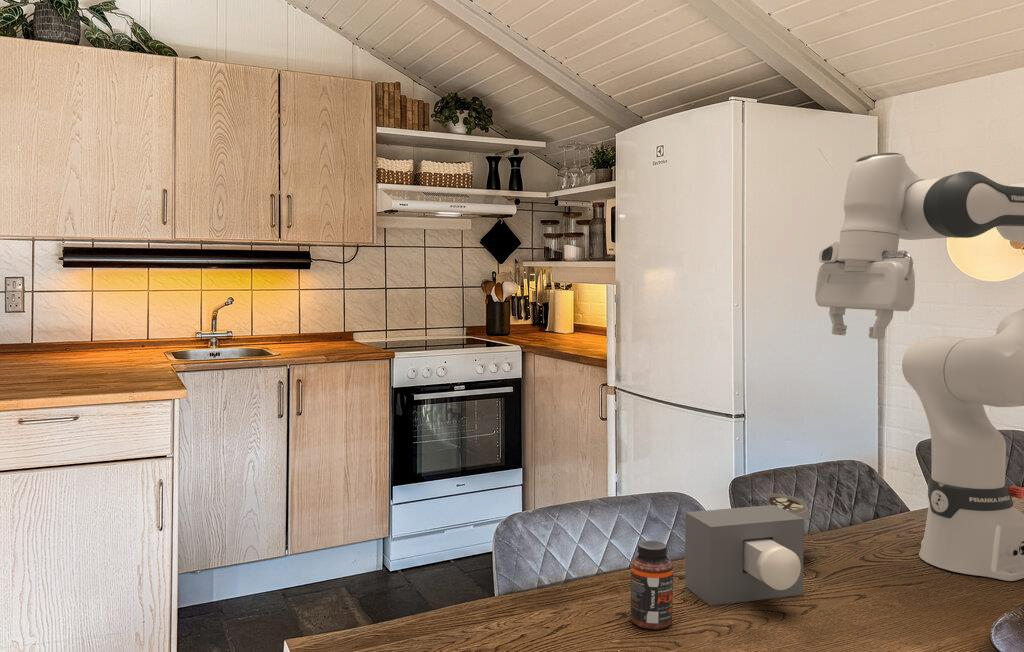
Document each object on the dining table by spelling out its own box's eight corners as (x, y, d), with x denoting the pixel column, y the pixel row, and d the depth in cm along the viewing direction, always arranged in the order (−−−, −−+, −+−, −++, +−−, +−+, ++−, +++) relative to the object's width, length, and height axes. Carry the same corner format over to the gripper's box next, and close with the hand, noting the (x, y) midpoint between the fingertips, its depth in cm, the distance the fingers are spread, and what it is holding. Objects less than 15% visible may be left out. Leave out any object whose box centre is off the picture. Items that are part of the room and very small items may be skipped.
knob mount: (772, 576, 130) (773, 504, 129) (802, 594, 122) (803, 518, 121) (685, 586, 126) (685, 512, 125) (710, 605, 118) (710, 527, 117)
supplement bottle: (663, 635, 108) (664, 554, 107) (623, 625, 111) (623, 546, 111) (678, 619, 113) (679, 542, 113) (640, 610, 116) (640, 535, 116)
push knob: (768, 568, 122) (769, 530, 122) (800, 587, 114) (801, 547, 114) (734, 572, 121) (734, 534, 120) (764, 592, 113) (764, 551, 113)
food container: (814, 571, 132) (815, 513, 131) (776, 569, 133) (776, 511, 133) (802, 548, 144) (803, 494, 143) (767, 545, 145) (768, 492, 145)
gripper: (931, 252, 118) (919, 343, 119) (844, 256, 138) (835, 334, 139) (895, 247, 117) (883, 339, 117) (813, 252, 137) (803, 331, 137)
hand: (856, 337), depth 128 cm, fingers open, 8 cm apart
